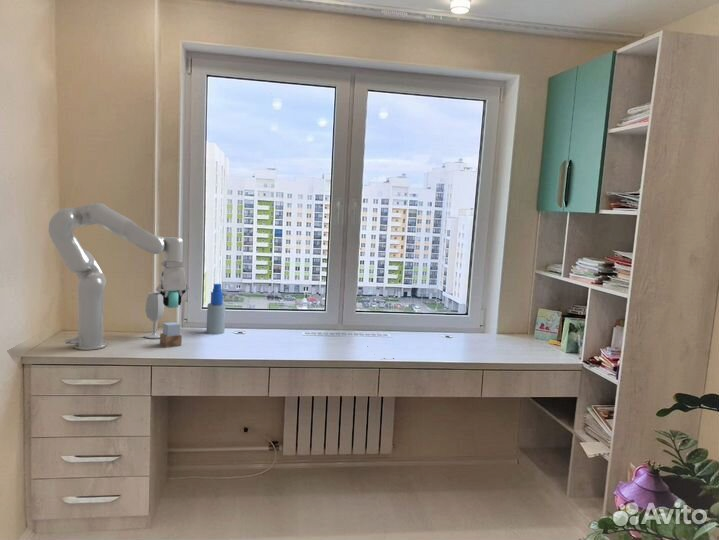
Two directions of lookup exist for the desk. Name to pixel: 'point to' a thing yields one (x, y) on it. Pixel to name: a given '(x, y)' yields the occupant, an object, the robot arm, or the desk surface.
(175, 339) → the walnut base
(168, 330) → the bluegrey cube
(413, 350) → the desk surface
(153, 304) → the wineglass
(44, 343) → the desk surface
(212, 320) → the spray bottle
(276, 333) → the desk surface
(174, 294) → the teal cylinder
